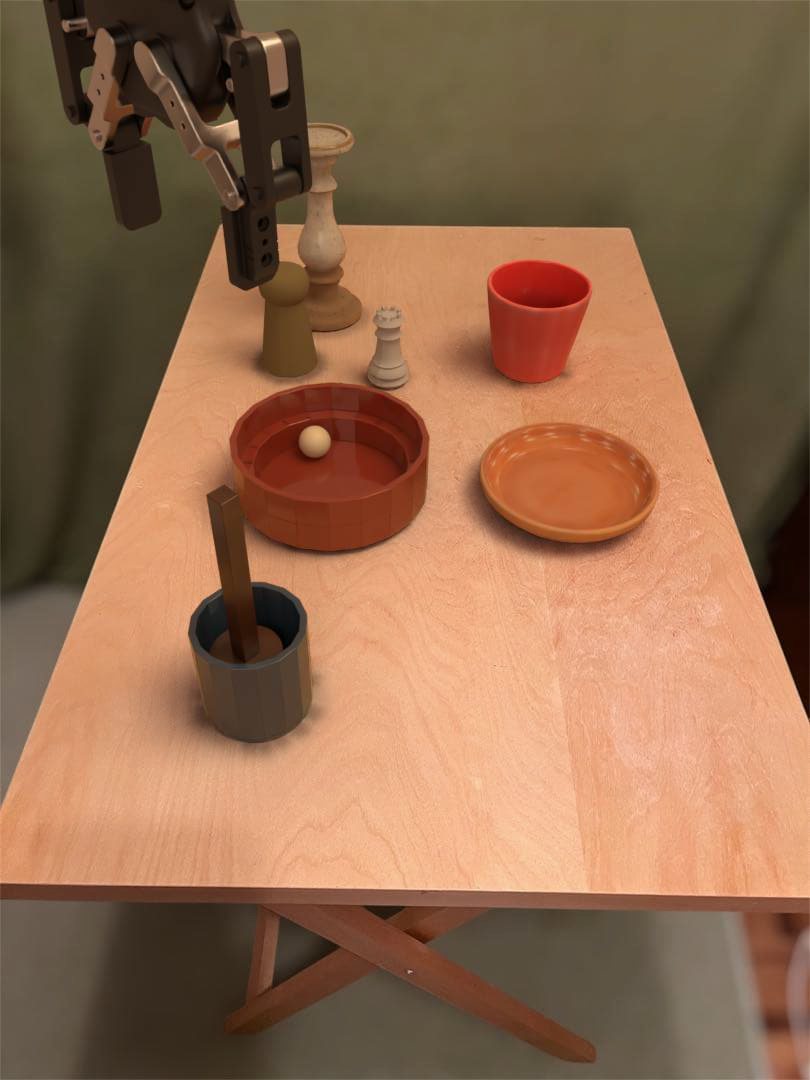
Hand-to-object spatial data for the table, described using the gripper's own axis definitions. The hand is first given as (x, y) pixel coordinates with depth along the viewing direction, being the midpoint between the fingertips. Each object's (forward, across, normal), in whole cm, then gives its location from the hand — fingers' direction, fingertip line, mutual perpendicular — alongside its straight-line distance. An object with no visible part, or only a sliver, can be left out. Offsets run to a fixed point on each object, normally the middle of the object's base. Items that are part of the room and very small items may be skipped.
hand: (195, 252), depth 43 cm
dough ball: (+32, -17, +22) cm, 43 cm away
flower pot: (+34, -13, +50) cm, 62 cm away
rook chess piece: (+34, -22, +37) cm, 55 cm away
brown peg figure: (+34, -32, +32) cm, 57 cm away
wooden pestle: (+34, 0, 0) cm, 34 cm away
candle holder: (+34, -37, +42) cm, 66 cm away
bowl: (+34, -13, +20) cm, 42 cm away
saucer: (+34, +3, +34) cm, 48 cm away
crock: (+34, 0, 0) cm, 34 cm away
